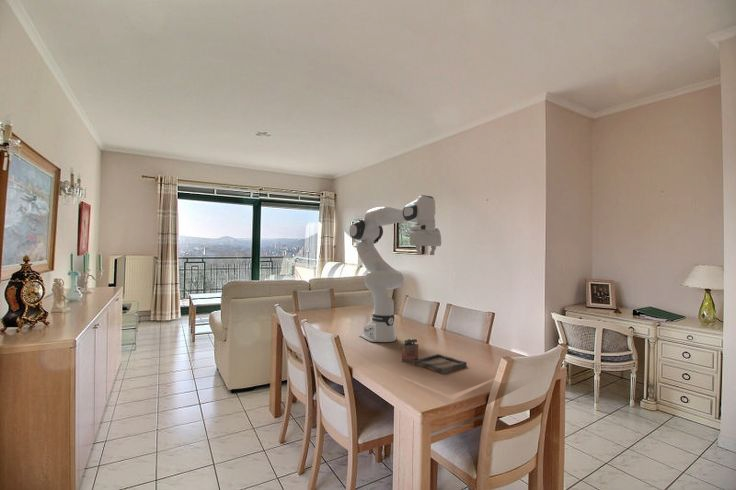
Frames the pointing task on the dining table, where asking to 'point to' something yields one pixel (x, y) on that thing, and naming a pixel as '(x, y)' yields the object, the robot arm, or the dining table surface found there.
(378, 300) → the robot arm
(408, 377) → the dining table surface
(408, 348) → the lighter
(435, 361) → the dark brown tray
